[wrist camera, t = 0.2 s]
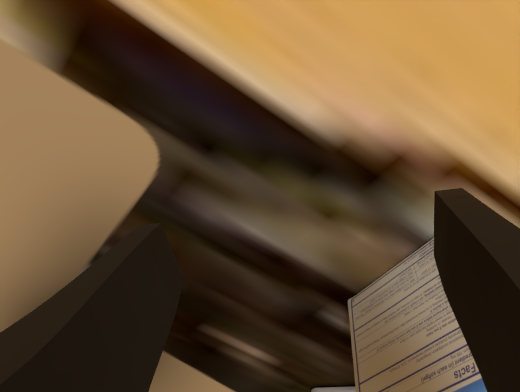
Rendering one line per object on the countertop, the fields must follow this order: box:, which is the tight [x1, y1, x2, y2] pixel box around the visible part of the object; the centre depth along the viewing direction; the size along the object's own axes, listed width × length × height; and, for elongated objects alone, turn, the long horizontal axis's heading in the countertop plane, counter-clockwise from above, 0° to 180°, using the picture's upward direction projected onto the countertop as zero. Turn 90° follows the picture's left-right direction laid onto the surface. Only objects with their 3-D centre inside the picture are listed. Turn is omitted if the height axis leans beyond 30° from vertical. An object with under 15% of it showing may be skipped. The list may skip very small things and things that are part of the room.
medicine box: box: [348, 238, 487, 392], centre depth 21 cm, size 8×4×9 cm, turn 143°
